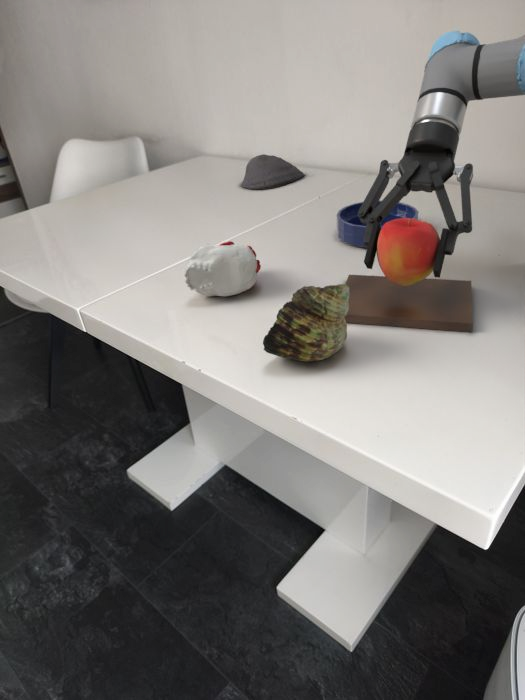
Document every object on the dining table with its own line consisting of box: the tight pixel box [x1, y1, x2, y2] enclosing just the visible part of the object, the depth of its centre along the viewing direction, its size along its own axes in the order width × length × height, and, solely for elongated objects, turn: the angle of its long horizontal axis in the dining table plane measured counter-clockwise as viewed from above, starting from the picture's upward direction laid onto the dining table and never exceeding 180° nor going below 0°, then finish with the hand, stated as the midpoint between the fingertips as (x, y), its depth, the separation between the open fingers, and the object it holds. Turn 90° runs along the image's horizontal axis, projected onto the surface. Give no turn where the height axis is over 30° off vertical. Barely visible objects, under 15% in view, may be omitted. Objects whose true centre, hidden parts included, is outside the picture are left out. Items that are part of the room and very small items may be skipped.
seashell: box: [262, 283, 350, 363], centre depth 74 cm, size 11×11×10 cm
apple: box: [376, 218, 441, 286], centre depth 81 cm, size 10×10×10 cm
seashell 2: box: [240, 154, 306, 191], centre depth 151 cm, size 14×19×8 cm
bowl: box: [336, 200, 420, 248], centre depth 111 cm, size 16×16×4 cm
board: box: [344, 274, 474, 333], centre depth 86 cm, size 20×14×2 cm
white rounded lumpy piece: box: [184, 240, 262, 297], centre depth 94 cm, size 9×11×15 cm
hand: (401, 269), depth 80 cm, fingers closed on apple, 9 cm apart
